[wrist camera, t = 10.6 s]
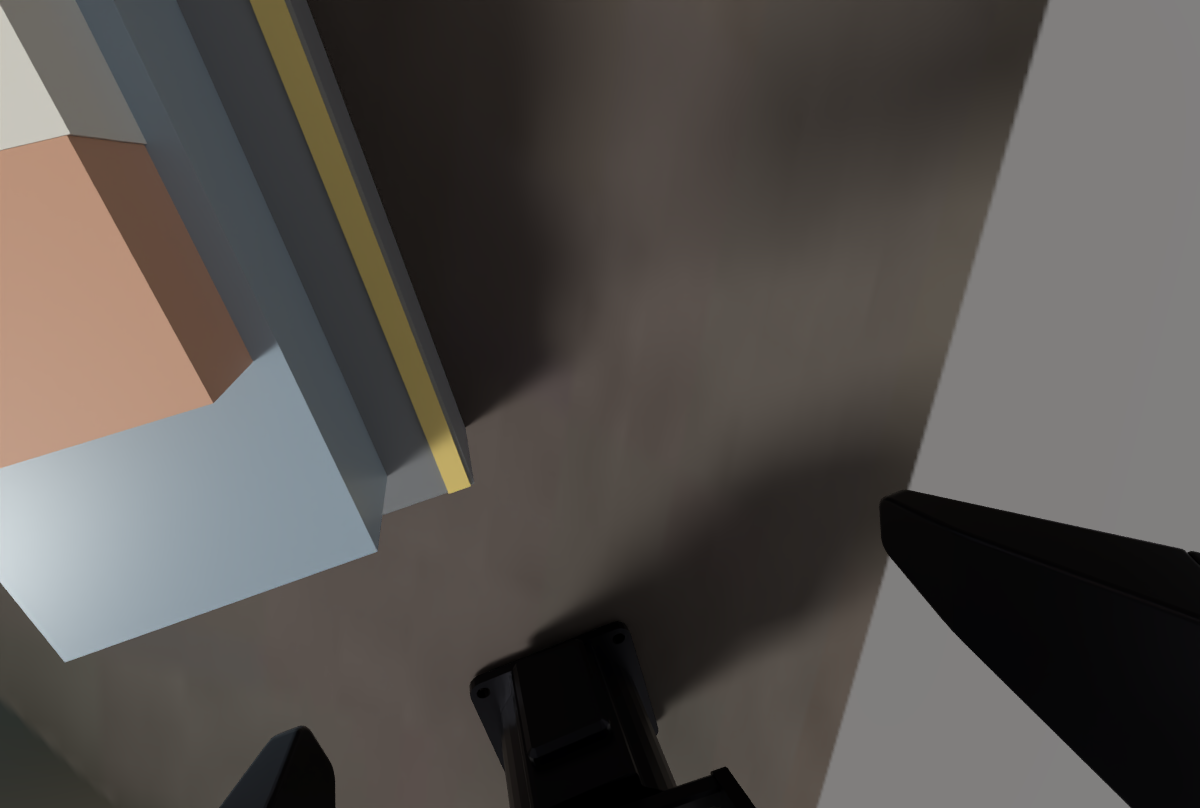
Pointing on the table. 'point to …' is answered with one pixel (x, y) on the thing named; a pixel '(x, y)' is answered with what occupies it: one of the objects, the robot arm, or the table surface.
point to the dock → (335, 234)
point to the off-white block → (56, 78)
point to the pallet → (203, 435)
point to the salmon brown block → (100, 299)
